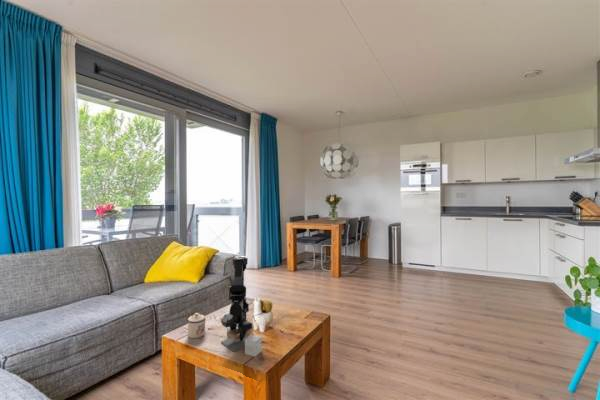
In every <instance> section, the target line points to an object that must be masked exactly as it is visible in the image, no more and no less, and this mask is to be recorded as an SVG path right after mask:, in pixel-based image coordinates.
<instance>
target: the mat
mask: <svg viewBox="0 0 600 400" xmlns="http://www.w3.org/2000/svg"><path fill="white" fill-rule="evenodd" d="M246 338H247V337H244V339H243V341H240V339H239V340H237V341H234V340H232V339H231V338H227V339H224V340H221V341H220V343H221V344H222V345H223V346H224V347H226V348H227V349H228V350H230V351H231V352H237V351H239V350H242V349H245V339H246Z"/></svg>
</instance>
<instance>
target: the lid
mask: <svg viewBox="0 0 600 400" xmlns="http://www.w3.org/2000/svg"><path fill="white" fill-rule="evenodd" d="M237 329H238V328H237ZM237 329H234V330H231V331H229V332H227V331H226V336H227V337H228V339H230V338H231V339H232V340H234V341H237V340H239V339H240V333H239V331H238V330H237ZM248 334H249V333H248V331H247V332H246V334H245V336H244V337H246V338H247V337H248V336H249V335H248Z"/></svg>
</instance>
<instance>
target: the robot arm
mask: <svg viewBox="0 0 600 400" xmlns="http://www.w3.org/2000/svg"><path fill="white" fill-rule="evenodd" d="M247 265H248V257H246V256H245V255H244V256H243V255H242V256H235V257H233V258H232V266H233V268H234V276H233V279H232V281H231V284H230V285H229V292H228V294H229V295H228V300H230V301H231V303H230V308H229V313H225V314H224V315H223V317H221V319H220V322H221V325H222V327H225V328H226V329H227V327H230V330H234V329H236V326H237V324H239V325H238V329H237V330H238V331H239V333H240V341H243V339H244V336H245V334H246V332H248V331H249V330H251V329H252V328H253V323H252V322H250V321H248V319H247V313H248V312H249V310H250V307H249V303H248V301H247V287H246V285H245V270H246V269H247Z"/></svg>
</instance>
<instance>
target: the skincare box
mask: <svg viewBox="0 0 600 400" xmlns="http://www.w3.org/2000/svg"><path fill="white" fill-rule="evenodd" d="M262 351H263V336H262V335H258V334H254V333H251V334H250V335H248V336H247V337H246V339H245V347H244V354H245V355H247V356H250V357H251V356H252V357H257V356H258V355H259V354H260V353H261V352H262Z"/></svg>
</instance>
